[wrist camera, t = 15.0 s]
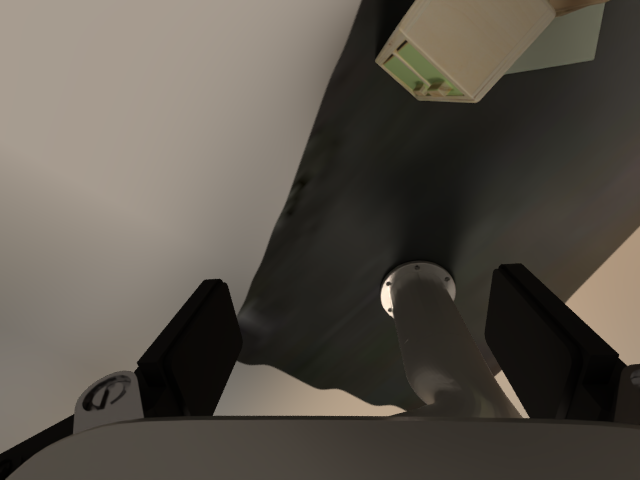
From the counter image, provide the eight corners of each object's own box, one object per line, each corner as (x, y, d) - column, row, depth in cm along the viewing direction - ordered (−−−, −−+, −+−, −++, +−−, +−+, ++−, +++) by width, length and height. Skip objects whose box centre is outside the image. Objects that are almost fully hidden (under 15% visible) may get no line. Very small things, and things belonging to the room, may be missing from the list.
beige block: (368, 66, 39) (389, 35, 20) (408, 9, 36) (476, -87, 17) (413, 106, 41) (472, 113, 22) (455, 55, 38) (564, 12, 19)
